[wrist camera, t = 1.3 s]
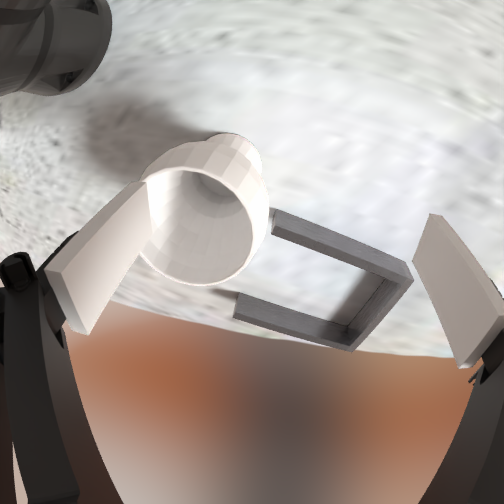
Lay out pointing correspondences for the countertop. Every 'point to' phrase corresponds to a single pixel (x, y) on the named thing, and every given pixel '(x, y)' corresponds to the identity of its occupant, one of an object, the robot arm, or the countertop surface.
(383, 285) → the channel
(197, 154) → the cup
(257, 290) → the countertop surface
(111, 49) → the countertop surface
